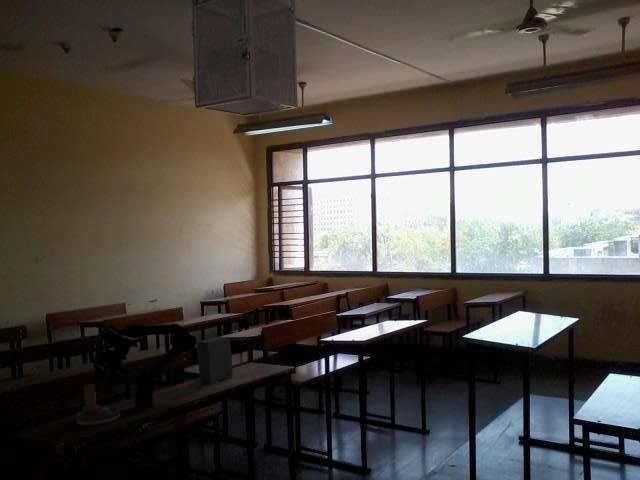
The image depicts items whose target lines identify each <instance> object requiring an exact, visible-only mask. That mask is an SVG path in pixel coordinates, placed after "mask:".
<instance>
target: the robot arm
mask: <svg viewBox="0 0 640 480" xmlns="http://www.w3.org/2000/svg"><path fill="white" fill-rule="evenodd" d="M165 334H166V335H167V334H172V336H173V337H174V338H175V342H174V345H173V346H172V347H171V348H169V349H168V350H167V351H166V352H165V353H164V354H163V355H161V356H160V357H159V358H157V360H156V361H154V362H153V363H151V365H150V366H148V367H147V368H142V367H139V368H138V369H137V370H136V371H135V372H133V373H132V375H131V377H130V378H129V379H130V380H129V385H130V387H131V388H133V390H134V391H135V392H136V393H135V394H136V395H135V396H134V401H135V402H134V403H135V409H149V408H153V407H154V405H155V403H156V402H154V392H155V389H156V386H155V385H154V384H152V382H153V381H154V378H155V377H156V376H157V375H158V374H160V373H161V371H163V370H164V369H165V368H167V366H168V365H169V364H171V363H173V361H175V360H176V359H177V358H178V357H179V356H180V355H182V354H184V353H187V352H189V351H190V350H192V349H194V348H195V347H197V342H198V341H197V338H196V336H195V335H191V334H190V333H189V332H188V331H187V330H186V329H184V328H183V327H182V326H181V325H180V324H179V323H169V324H156V325H154V324H153V325H145V324H137V323H128V324H127V325H126V326H125V327H124V328H121V329H117V328H116V327H115V326H114V325H113V324H111V323H110V324H108V325H107V326H106V327H104V329H103V330H101V331H100V333H99V335H98V336H99V337H98V338H99V339H100V340H101V341H103V342H104V343H106V344H108V345H109V346H113V345H115V346H114V347H113V349H105V351H103V350H97V349H96V350H95V354H94V359H93V361H92V363H91V364H93V365H92V367H93V369H94V373H93V377H92V381H91V384H95V385H96V384H97V383H99V381H100V380H101V379H102V378H103V377H104V376H105V375H106V374H107V373H108V371H109V375H108V377H107V379H106V381H105V382H104V385H103V389H104V390H105V389H106V390H107V388H109V387H111V386H112V385H113V384H115V383H116V382H118V381H119V380H121V379H124V377H127V376H128V374H129V368H127V367H126V366H124V365H123V361H127V359H128V358H127V357H126V356H127V354H128V353H129V352H130V350H131V348H138V343H137V342H138V341H137V340H136V339H140V338H143V337H147V336H149V335H165ZM125 337H126V338H125ZM130 338H131V339H130ZM132 339H134V340H132Z"/></svg>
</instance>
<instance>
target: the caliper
mask: <svg viewBox="0 0 640 480" xmlns="http://www.w3.org/2000/svg"><path fill="white" fill-rule="evenodd" d="M194 389H195V390H196V391H197V392H198V391H199V390H202V383H201V380H200V376H196V377H195V379H194V381H192V382H190V383H189V384H188V385H187V386H185V387H184V388H182V389H181V390H179V391H177V392H176V393H174V394H172V395H171V396H170V397H169V398H168V400H167V401H174V400H175V399H177V398H178V397H181V395H183V394H185V393H186V392H188V391H193V390H194Z"/></svg>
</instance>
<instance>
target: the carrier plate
mask: <svg viewBox="0 0 640 480" xmlns="http://www.w3.org/2000/svg"><path fill="white" fill-rule="evenodd" d="M120 417H121V408H120V407H119V406H114V405H110V406H109V405H106V406H105V405H104V406H99V410H98V411H97V414H93V415H86V413H84V412H83V410H82V411H79V412H77V413H76V414H75V420H76V424H78V425H80V426H94V425H95V426H96V425H102V424H106V423H110V422H113V421H115V420H118V419H120Z"/></svg>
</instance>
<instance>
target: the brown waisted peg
mask: <svg viewBox="0 0 640 480" xmlns="http://www.w3.org/2000/svg"><path fill="white" fill-rule="evenodd" d="M83 391H84V394H83V395H84V406H83V407H82V411H83V412H84V413H86V415H93V414H97V411H98V410H99V407H100V405H99V404H97V394H96V384H92V383H89V384H85V385H83Z"/></svg>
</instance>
